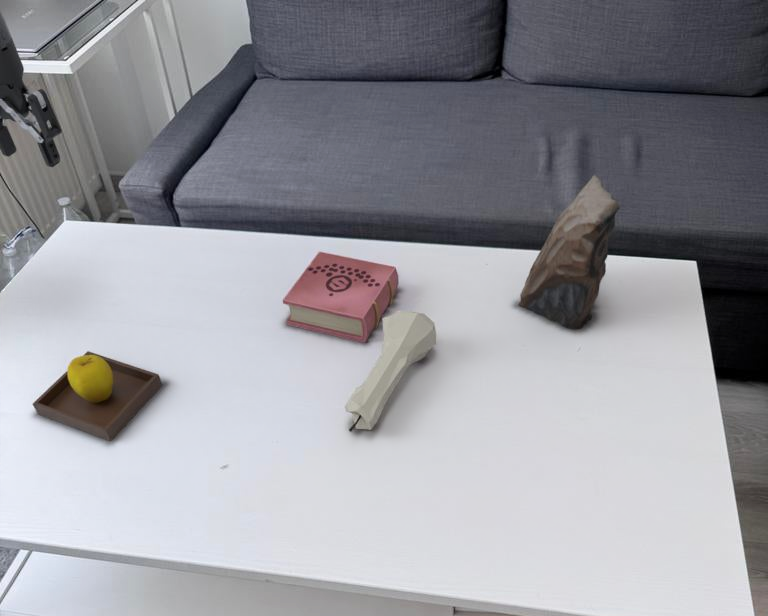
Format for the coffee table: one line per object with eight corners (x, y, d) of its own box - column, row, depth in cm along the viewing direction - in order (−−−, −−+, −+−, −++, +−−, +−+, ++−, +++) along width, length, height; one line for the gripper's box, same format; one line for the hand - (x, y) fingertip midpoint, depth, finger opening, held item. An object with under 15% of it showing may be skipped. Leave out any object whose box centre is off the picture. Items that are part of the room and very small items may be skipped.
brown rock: (569, 275, 131) (589, 164, 115) (622, 311, 125) (652, 198, 109) (515, 303, 127) (528, 192, 111) (567, 341, 120) (589, 229, 105)
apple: (126, 399, 116) (109, 360, 110) (87, 417, 114) (67, 377, 108) (112, 377, 119) (95, 337, 113) (74, 393, 117) (54, 354, 111)
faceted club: (451, 342, 120) (385, 454, 108) (405, 340, 124) (336, 447, 112) (436, 296, 114) (365, 409, 101) (389, 296, 118) (314, 404, 106)
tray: (38, 414, 116) (32, 403, 114) (92, 361, 123) (87, 350, 121) (110, 441, 111) (105, 430, 110) (162, 385, 118) (158, 374, 117)
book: (369, 343, 122) (368, 319, 118) (286, 324, 126) (282, 299, 122) (401, 292, 130) (400, 267, 126) (322, 275, 134) (319, 251, 130)
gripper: (-80, 42, 99) (-22, 162, 111) (1, 58, 94) (52, 180, 107) (-38, 21, 103) (13, 139, 115) (41, 35, 98) (85, 156, 111)
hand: (32, 159), depth 111 cm, fingers open, 8 cm apart
